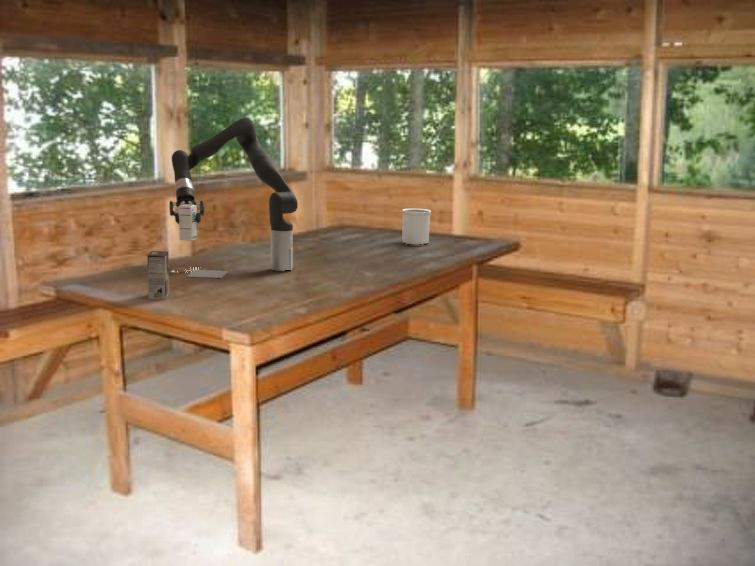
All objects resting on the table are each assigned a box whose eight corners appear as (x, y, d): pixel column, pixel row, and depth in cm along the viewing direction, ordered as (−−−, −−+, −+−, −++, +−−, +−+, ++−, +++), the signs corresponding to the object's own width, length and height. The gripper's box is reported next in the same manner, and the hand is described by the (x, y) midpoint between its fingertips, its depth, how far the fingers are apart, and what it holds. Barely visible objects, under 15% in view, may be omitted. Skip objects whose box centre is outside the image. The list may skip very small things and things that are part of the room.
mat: (228, 272, 365) (228, 271, 365) (221, 278, 351) (220, 277, 351) (194, 270, 365) (194, 269, 365) (186, 277, 351) (186, 276, 351)
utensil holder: (430, 246, 448) (431, 212, 445) (401, 245, 448) (402, 211, 445) (428, 241, 463) (430, 208, 459) (400, 240, 463) (402, 208, 459)
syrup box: (192, 241, 360) (191, 206, 357) (178, 240, 362) (178, 205, 359) (197, 239, 366) (197, 204, 363) (184, 238, 367) (184, 203, 364)
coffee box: (151, 293, 320) (151, 250, 317) (169, 294, 321) (169, 250, 318) (147, 299, 312) (146, 255, 308) (166, 299, 312) (165, 255, 309)
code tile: (205, 267, 372) (205, 267, 372) (199, 273, 360) (199, 272, 360) (178, 266, 372) (178, 266, 372) (170, 272, 361) (170, 271, 361)
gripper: (200, 197, 374) (204, 227, 366) (166, 197, 370) (170, 228, 362) (202, 185, 368) (206, 216, 360) (168, 185, 364) (171, 217, 356)
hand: (188, 222), depth 361 cm, fingers closed on syrup box, 7 cm apart
